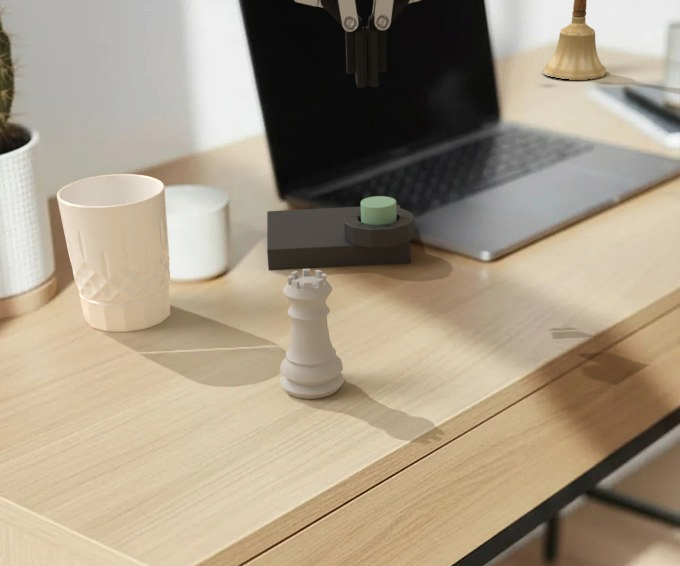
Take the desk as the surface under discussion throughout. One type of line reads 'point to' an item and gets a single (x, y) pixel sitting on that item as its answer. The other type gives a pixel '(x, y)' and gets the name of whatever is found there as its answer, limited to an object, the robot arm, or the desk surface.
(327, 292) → the rook chess piece
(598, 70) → the hand bell
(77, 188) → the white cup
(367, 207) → the button
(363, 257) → the scale
